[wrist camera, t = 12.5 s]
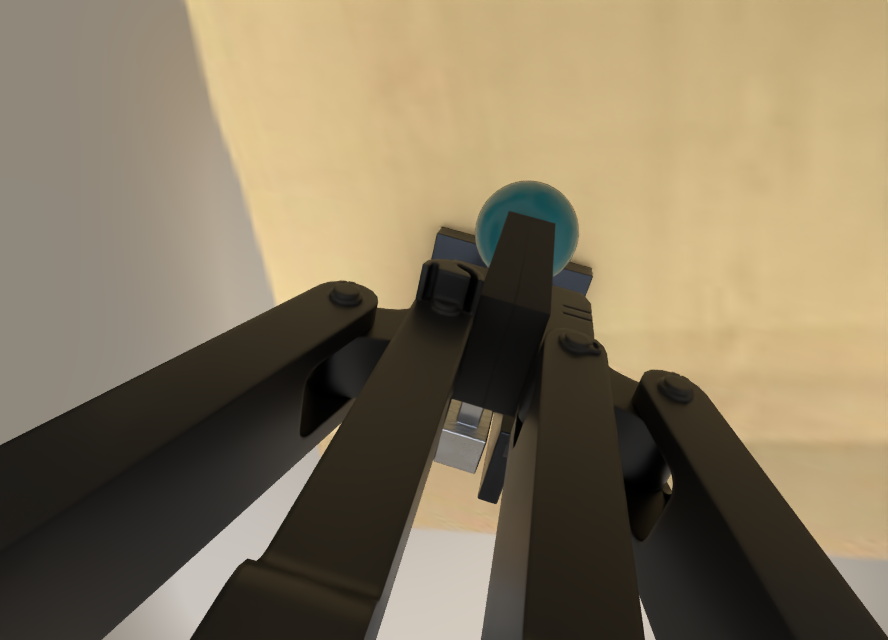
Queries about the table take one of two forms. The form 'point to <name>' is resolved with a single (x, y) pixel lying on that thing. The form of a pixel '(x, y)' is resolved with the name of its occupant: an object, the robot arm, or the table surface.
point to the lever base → (494, 469)
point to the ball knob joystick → (528, 198)
